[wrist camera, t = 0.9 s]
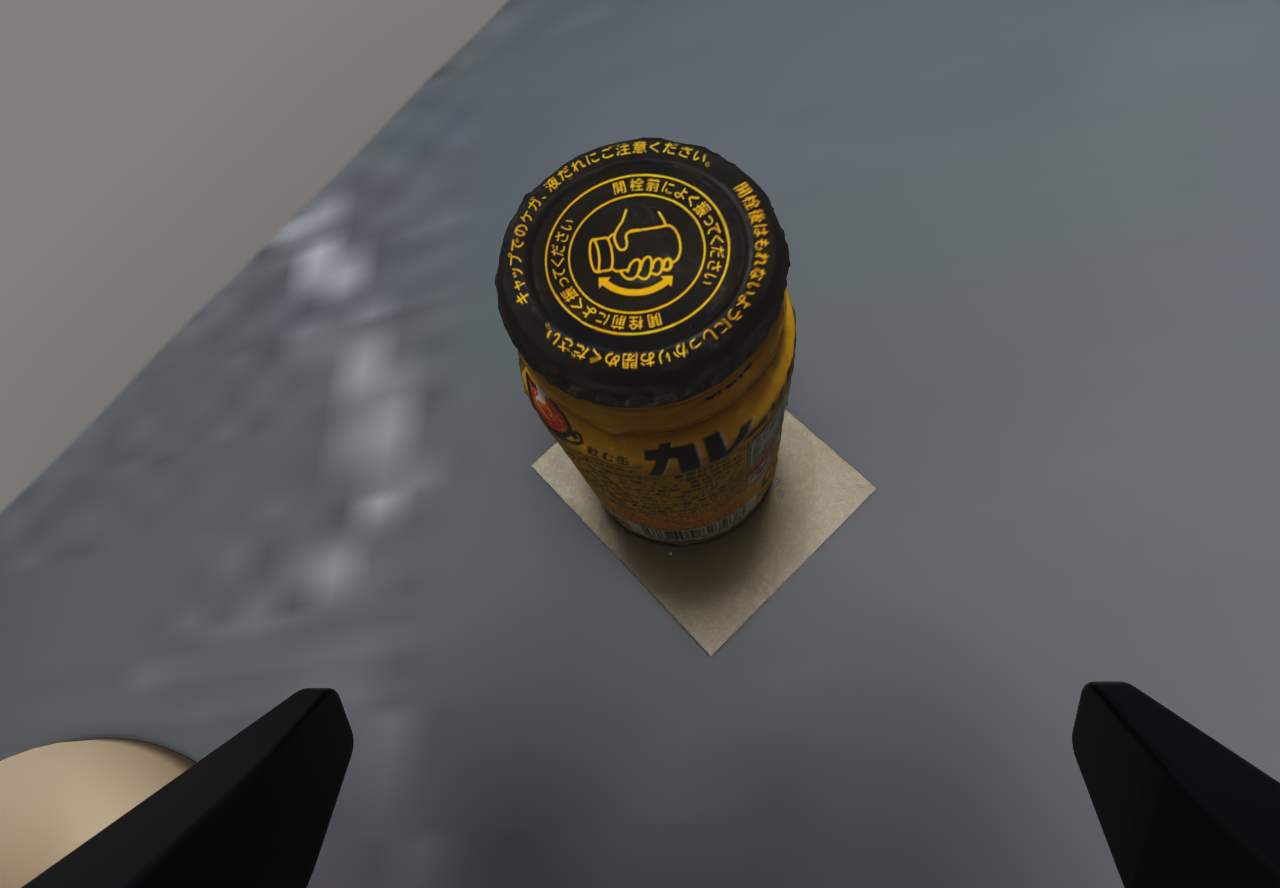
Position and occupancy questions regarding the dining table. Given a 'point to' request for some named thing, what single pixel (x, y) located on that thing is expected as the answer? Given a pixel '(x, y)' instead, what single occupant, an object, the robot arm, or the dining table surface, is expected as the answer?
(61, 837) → the beige round plate
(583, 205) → the condiment
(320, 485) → the dining table surface
